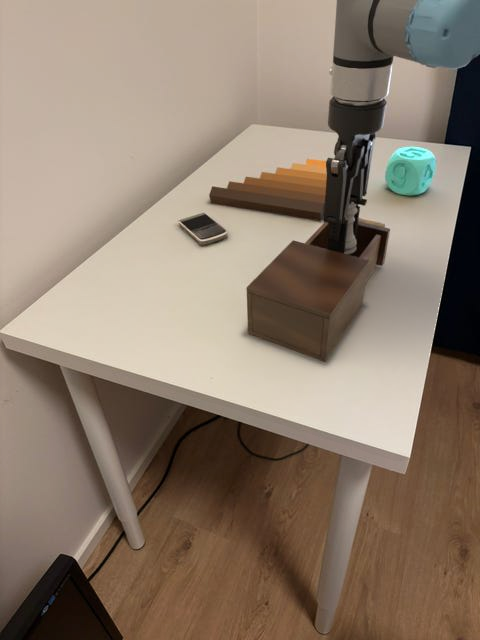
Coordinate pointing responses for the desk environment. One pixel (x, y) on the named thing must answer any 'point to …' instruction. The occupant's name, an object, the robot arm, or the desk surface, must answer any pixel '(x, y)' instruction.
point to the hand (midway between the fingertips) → (341, 248)
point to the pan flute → (280, 191)
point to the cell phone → (203, 228)
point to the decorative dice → (410, 170)
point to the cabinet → (306, 298)
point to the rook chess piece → (350, 230)
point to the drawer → (360, 241)
